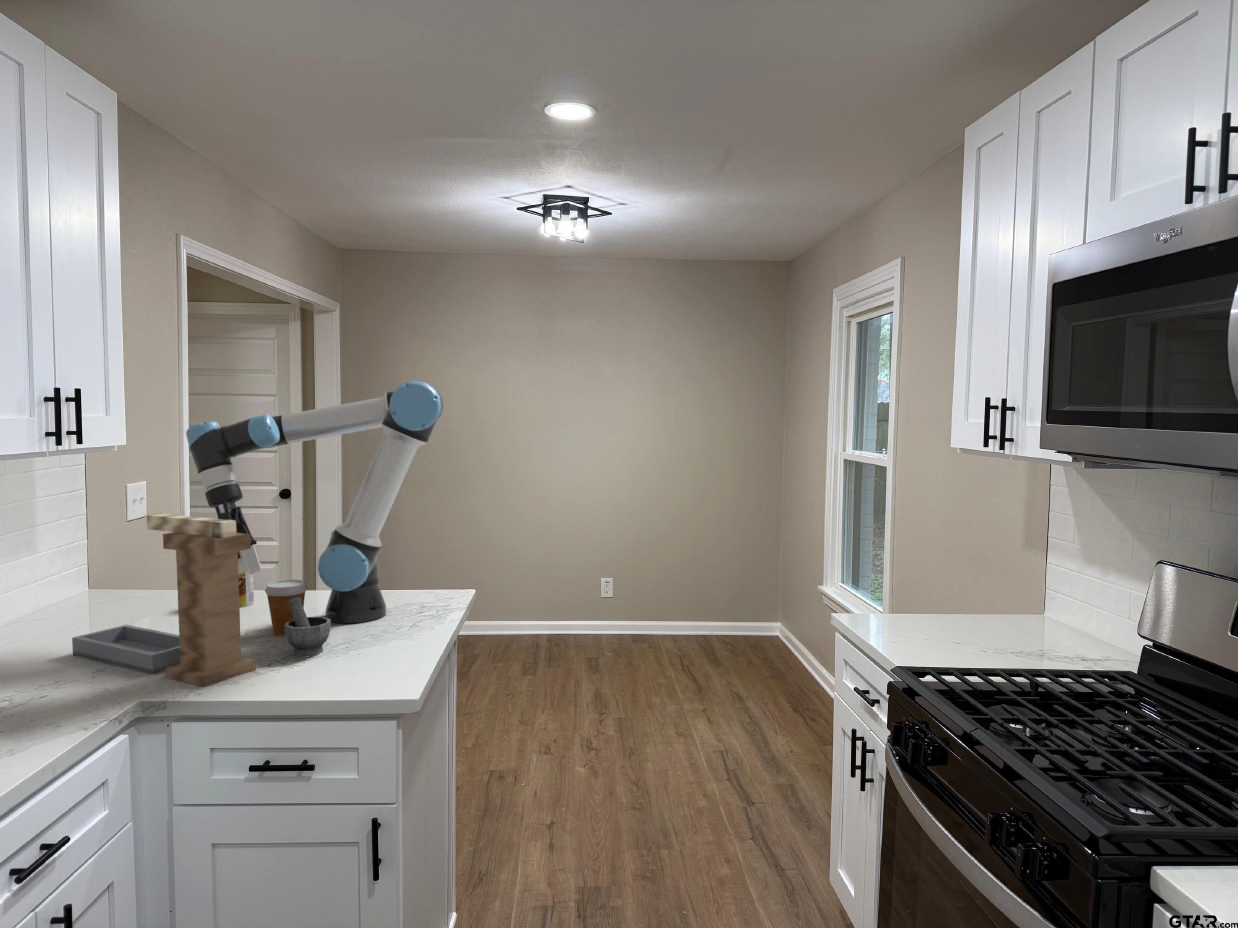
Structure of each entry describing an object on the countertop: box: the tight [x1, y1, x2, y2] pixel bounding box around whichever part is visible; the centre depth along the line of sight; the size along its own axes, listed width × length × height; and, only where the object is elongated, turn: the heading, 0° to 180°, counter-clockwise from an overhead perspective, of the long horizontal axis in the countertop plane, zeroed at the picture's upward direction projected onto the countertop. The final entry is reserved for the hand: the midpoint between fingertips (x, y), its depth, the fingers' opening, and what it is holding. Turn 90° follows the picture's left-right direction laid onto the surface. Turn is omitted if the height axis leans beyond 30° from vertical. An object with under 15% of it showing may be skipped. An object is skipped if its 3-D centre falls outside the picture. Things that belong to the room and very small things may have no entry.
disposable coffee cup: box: [264, 579, 308, 636], centre depth 197 cm, size 10×10×12 cm
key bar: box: [146, 513, 236, 538], centre depth 167 cm, size 24×4×3 cm, turn 63°
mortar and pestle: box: [284, 597, 332, 657], centre depth 181 cm, size 11×9×12 cm
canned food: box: [238, 571, 255, 609], centre depth 224 cm, size 8×8×12 cm
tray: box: [71, 624, 180, 675], centre depth 177 cm, size 28×12×4 cm, turn 63°
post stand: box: [162, 532, 257, 688], centre depth 166 cm, size 16×12×29 cm
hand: (249, 572), depth 189 cm, fingers open, 13 cm apart
